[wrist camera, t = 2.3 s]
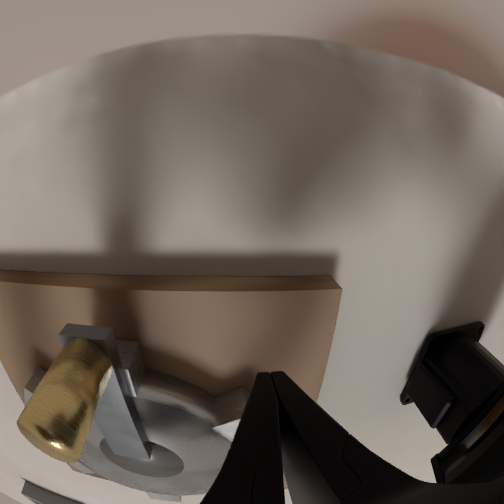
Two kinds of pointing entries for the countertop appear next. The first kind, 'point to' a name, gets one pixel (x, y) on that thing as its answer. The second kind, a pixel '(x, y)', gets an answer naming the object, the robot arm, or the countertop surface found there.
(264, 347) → the walnut base
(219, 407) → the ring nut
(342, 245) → the countertop surface
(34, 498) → the grey frame
